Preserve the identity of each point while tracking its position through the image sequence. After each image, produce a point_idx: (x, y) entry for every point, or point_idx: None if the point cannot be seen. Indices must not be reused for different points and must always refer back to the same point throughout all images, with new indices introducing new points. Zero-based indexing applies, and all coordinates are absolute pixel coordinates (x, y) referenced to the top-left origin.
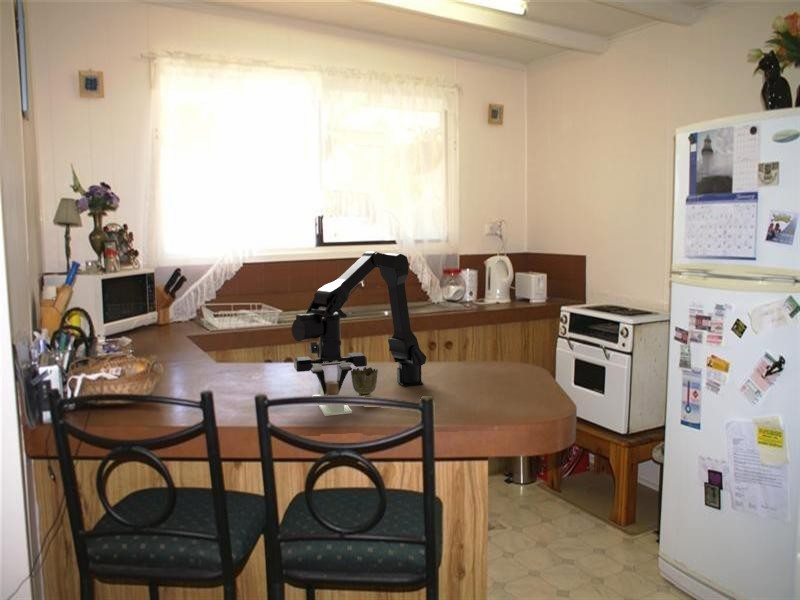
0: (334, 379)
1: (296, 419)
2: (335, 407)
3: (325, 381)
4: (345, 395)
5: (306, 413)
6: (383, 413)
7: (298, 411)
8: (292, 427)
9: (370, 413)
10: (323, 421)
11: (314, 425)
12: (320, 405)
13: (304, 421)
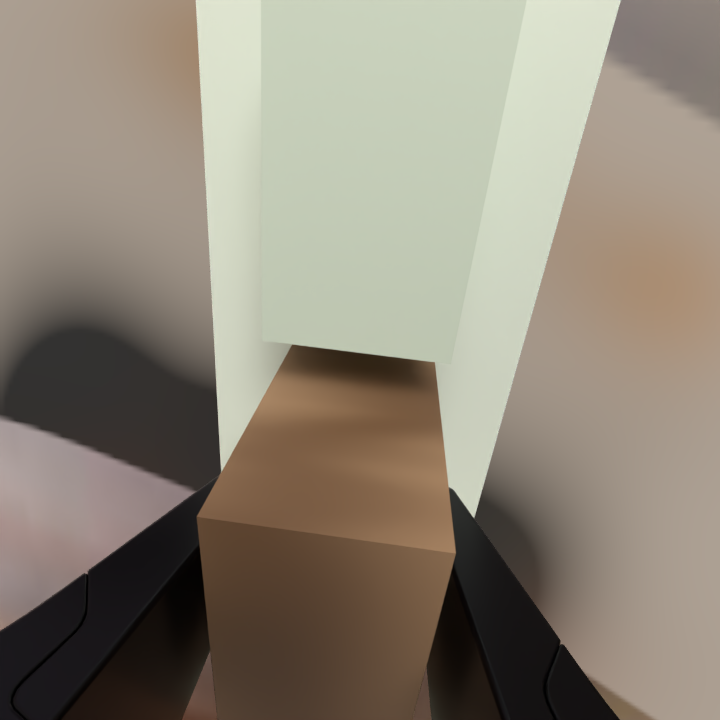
0: (445, 559)
1: (38, 582)
2: None
3: (219, 590)
4: (703, 87)
5: (106, 511)
6: (626, 714)
7: (38, 443)
8: None
9: None
10: (209, 669)
11: None
12: (228, 453)
13: None
